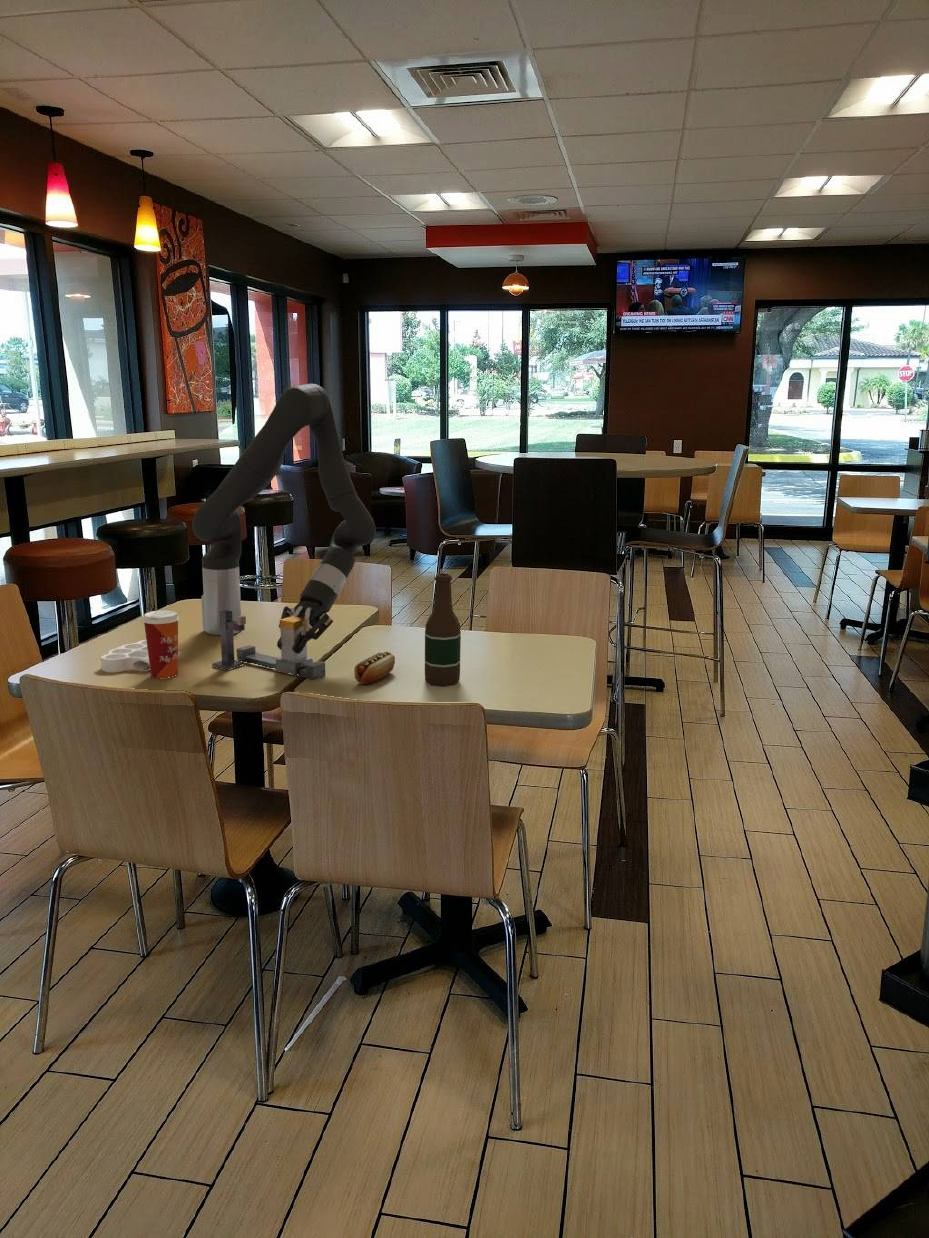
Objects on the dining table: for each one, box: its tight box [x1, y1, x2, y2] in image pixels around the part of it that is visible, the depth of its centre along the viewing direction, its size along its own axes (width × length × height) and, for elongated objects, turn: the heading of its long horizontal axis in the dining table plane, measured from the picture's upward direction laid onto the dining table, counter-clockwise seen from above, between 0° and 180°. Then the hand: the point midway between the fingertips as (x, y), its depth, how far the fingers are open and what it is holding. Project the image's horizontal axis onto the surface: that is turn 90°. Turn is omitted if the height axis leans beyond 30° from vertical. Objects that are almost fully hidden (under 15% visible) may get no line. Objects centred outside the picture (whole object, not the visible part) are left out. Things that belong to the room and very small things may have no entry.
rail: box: [236, 644, 326, 681], centre depth 210 cm, size 24×4×3 cm, turn 56°
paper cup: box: [142, 610, 180, 680], centre depth 202 cm, size 8×8×14 cm
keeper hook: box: [211, 610, 247, 671], centre depth 208 cm, size 8×5×13 cm, turn 56°
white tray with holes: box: [100, 639, 181, 673], centre depth 213 cm, size 3×18×15 cm
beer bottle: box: [424, 573, 462, 688], centre depth 199 cm, size 8×8×24 cm
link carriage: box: [276, 616, 314, 676], centre depth 206 cm, size 6×6×12 cm
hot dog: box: [353, 650, 396, 685], centre depth 203 cm, size 5×13×5 cm, turn 156°
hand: (287, 649), depth 205 cm, fingers closed on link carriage, 4 cm apart
